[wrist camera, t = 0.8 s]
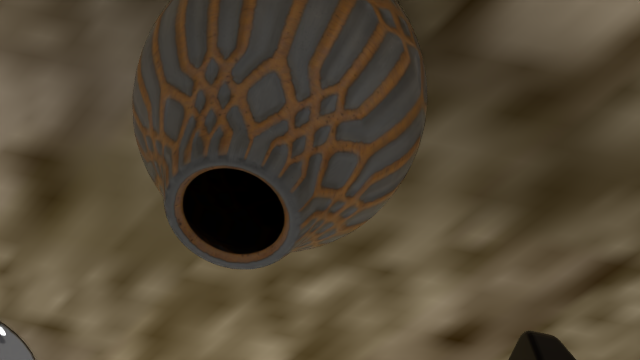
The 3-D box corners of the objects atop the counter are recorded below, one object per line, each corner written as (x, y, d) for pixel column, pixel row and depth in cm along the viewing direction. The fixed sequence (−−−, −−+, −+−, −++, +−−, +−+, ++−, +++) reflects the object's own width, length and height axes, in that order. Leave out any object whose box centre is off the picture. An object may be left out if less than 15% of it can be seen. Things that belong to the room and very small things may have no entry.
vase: (290, -133, 14) (170, -105, 7) (472, 46, 16) (532, 221, 9) (153, 56, 18) (-29, 214, 10) (318, 188, 19) (265, 405, 12)
